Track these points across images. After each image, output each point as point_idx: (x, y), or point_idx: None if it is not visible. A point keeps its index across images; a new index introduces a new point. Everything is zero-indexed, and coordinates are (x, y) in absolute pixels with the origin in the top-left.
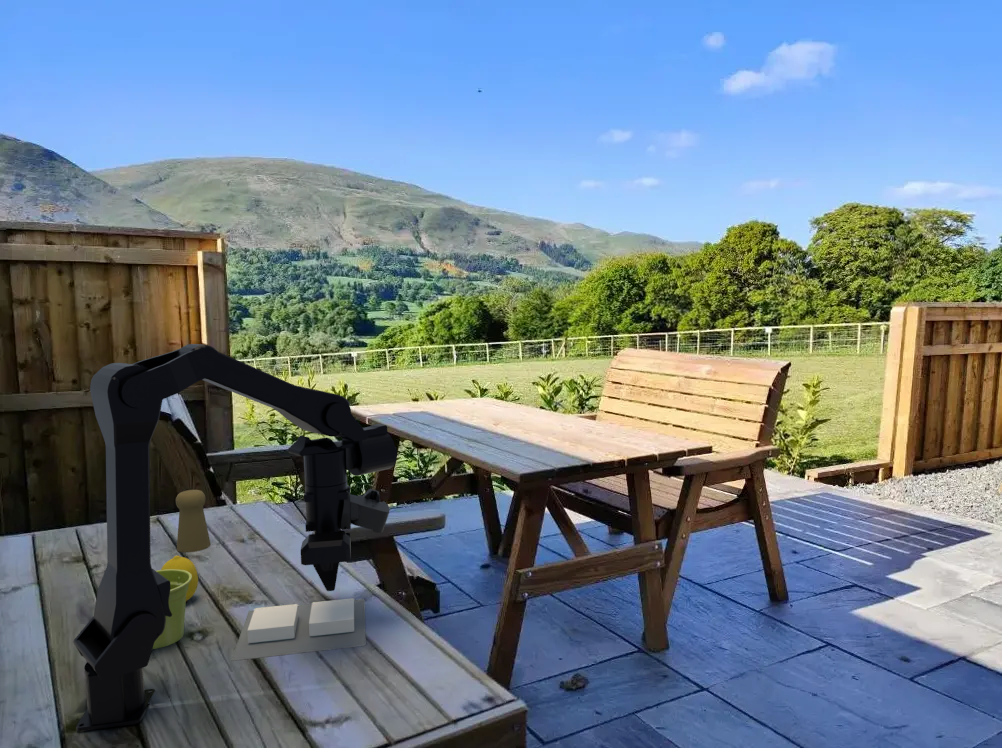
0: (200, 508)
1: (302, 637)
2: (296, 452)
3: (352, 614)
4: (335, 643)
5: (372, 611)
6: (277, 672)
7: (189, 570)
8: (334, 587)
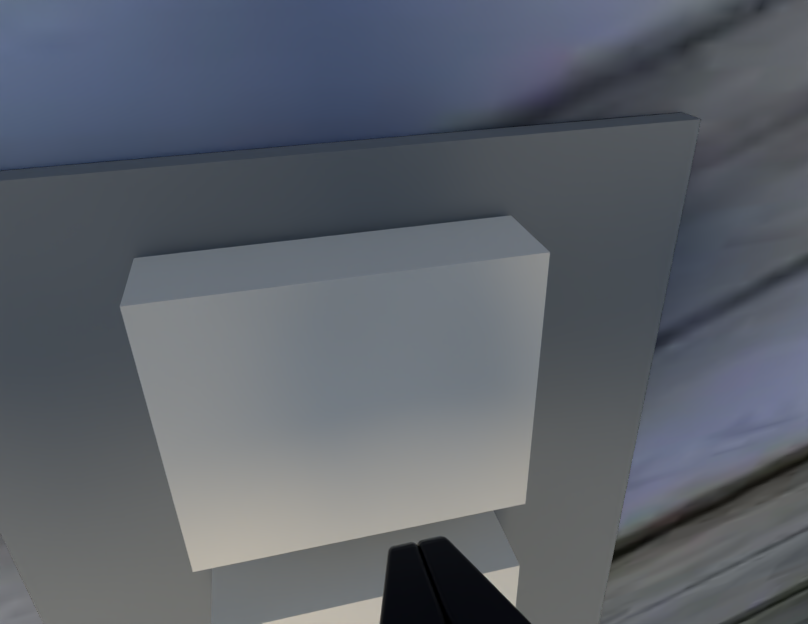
0: None
1: None
2: None
3: (467, 272)
4: (604, 304)
5: (59, 95)
6: (705, 477)
7: None
8: (459, 555)
